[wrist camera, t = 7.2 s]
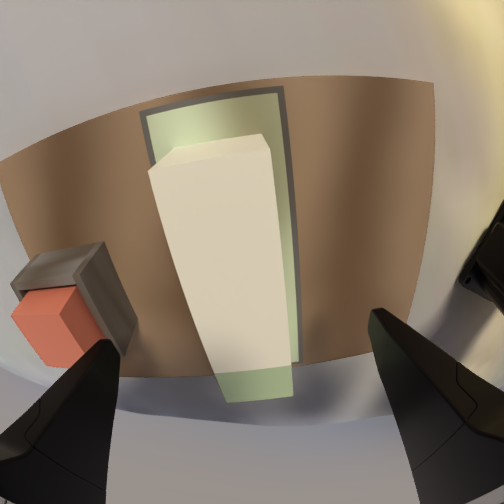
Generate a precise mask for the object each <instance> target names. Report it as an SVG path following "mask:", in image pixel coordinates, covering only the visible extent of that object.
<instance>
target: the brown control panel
mask: <svg viewBox="0 0 504 504" xmlns="http://www.w3.org/2000/svg"><path fill="white" fill-rule="evenodd" d="M255 134H262V135H263V137H264V139H265V141H266V143H267V144H268V146H269V148H270V152H271V160H272V168H273V176H274V185H275V193H276V202H277V211H278V220H279V230H280V239H281V249H282V259H283V270H284V280H285V291H286V303H287V315H288V327H289V340H290V353H291V367H295V366H302V365H308V364H314V363H320V362H326V361H331V360H336V359H341V358H346V357H351V356H356V355H360V354H365V353H369V352H373V349H372V345H371V342H370V338H369V334H368V322H369V316H370V312H371V310H372V309H375V308H380V307H382V308H385V309H386V310H388V311H389V312H390V313H392V314H393V315H395V316H396V317H397V318H399V319H400V320H402V321H403V322H404V323H407V319H408V316H409V312H410V308H411V305H412V301H413V297H414V293H415V289H416V284H417V280H418V276H419V271H420V266H421V261H422V256H423V251H424V245H425V240H426V233H427V227H428V220H429V213H430V204H431V195H432V185H433V172H434V154H435V100H434V83H430V82H423V81H415V80H407V79H397V78H385V77H370V76H301V77H285V78H273V79H263V80H254V81H246V82H238V83H231V84H225V85H219V86H213V87H207V88H202V89H197V90H192V91H187V92H183V93H178V94H174V95H170V96H166V97H162V98H158V99H154V100H150V101H147V102H143V103H140V104H136V105H133V106H129V107H126V108H123V109H120V110H117V111H114V112H111V113H108V114H105V115H102V116H99V117H97V118H94V119H91V120H88V121H86V122H83V123H81V124H78V125H76V126H73V127H71V128H68V129H66V130H64V131H61V132H59V133H57V134H54V135H52V136H50V137H48V138H46V139H43V140H41V141H39V142H37V143H35V144H33V145H31V146H29V147H27V148H25V149H23V150H21V151H19V152H17V153H16V154H14V155H12V156H10V157H8V158H6V159H5V160H3V161H1V162H0V184H1V187H2V191H3V194H4V197H5V200H6V203H7V205H8V208H9V211H10V214H11V216H12V219H13V222H14V224H15V227H16V229H17V232H18V234H19V237H20V239H21V241H22V244H23V246H24V248H25V250H26V253H27V255H28V257H29V259H30V262H29V263H28V264H27V265H26V266H25V267H24V268H23V269H22V271H21V272H20V273H19V274H18V275H17V276H16V277H15V279H14V280H13V281H12V282H11V283H10V285H11V287H12V289H13V291H14V292H15V294H16V296H17V298H18V299H19V301H20V302H21V301H22V299H23V298H24V297H25V295H26V294H27V293H28V291H29V290H30V289H37V288H46V287H55V286H64V285H73V284H76V285H77V287H78V289H79V291H80V293H81V295H82V297H83V299H84V301H85V302H86V304H87V306H88V308H89V310H90V312H91V313H92V315H93V317H94V319H95V320H96V322H97V324H98V326H99V327H100V329H101V331H102V332H103V334H104V336H105V337H106V339H110V340H111V341H112V342H113V344H114V345H115V347H116V349H117V350H118V352H119V354H120V358H121V361H120V372H119V377H190V376H210V375H215V374H214V372H213V369H212V367H211V364H210V362H209V359H208V357H207V354H206V352H205V349H204V347H203V344H202V341H201V339H200V336H199V333H198V331H197V328H196V325H195V323H194V320H193V317H192V314H191V312H190V309H189V306H188V303H187V300H186V298H185V295H184V292H183V289H182V286H181V283H180V280H179V277H178V274H177V271H176V268H175V265H174V262H173V258H172V255H171V252H170V249H169V246H168V242H167V239H166V236H165V232H164V229H163V226H162V222H161V219H160V215H159V212H158V208H157V204H156V201H155V197H154V193H153V190H152V186H151V182H150V178H149V174H148V170H150V169H151V168H152V167H153V166H154V165H155V164H156V163H157V162H159V161H160V160H161V159H162V158H163V157H164V156H165V155H167V154H168V153H169V152H170V151H171V150H173V149H174V148H179V147H184V146H189V145H194V144H199V143H204V142H210V141H216V140H221V139H227V138H234V137H240V136H247V135H255Z"/></svg>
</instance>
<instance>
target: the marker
mask: <svg viewBox="0 0 504 504" xmlns="http://www.w3.org/2000/svg"><path fill="white" fill-rule="evenodd" d="M148 174H149V178H150V182H151V186H152V190H153V193H154V197H155V201H156V204H157V208H158V212H159V215H160V219H161V222H162V226H163V229H164V232H165V236H166V239H167V242H168V246H169V249H170V252H171V255H172V258H173V262H174V265H175V268H176V271H177V274H178V277H179V280H180V283H181V286H182V289H183V292H184V295H185V298H186V300H187V303H188V306H189V309H190V312H191V314H192V317H193V320H194V323H195V325H196V328H197V331H198V333H199V336H200V339H201V341H202V344H203V347H204V349H205V352H206V354H207V357H208V359H209V362H210V364H211V367H212V369H213V372H214V374H215V376H216V379H217V381H218V384H219V386H220V388H221V391H222V393H223V395H224V398H225V400H226V402H227V403H233V402H246V401H257V400H266V399H274V398H282V397H289V396H293V383H292V368H291V353H290V340H289V327H288V315H287V303H286V291H285V280H284V270H283V259H282V249H281V239H280V230H279V220H278V211H277V202H276V193H275V185H274V176H273V168H272V160H271V152H270V148H269V146H268V144H267V143H266V141H265V139H264V137H263V135H262V134H255V135H247V136H240V137H234V138H227V139H221V140H216V141H210V142H204V143H199V144H194V145H189V146H184V147H179V148H174V149H173V150H171V151H170V152H169V153H168V154H167V155H165V156H164V157H163V158H162V159H161V160H160V161H159V162H157V163H156V164H155V165H154V166H153V167H152V168H151V169H150V170H148Z"/></svg>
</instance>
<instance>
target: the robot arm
mask: <svg viewBox="0 0 504 504" xmlns="http://www.w3.org/2000/svg"><path fill="white" fill-rule="evenodd" d="M459 282H460V283H461V284H462V286H463V287H465V288H467V289H469V290H470V291H472V292H474V293H476V294H478V295H480V296H482V297H484V298H486V299H487V300H489V301H491V302H493V303H494V304H495V305H496V306H497V308H498V309H499V310H500V311H501V313H502V314H503V315H504V204H503V206H502V208H501V210H500V212H499V214H498V215H497V217H496V219H495V221H494V223H493V225H492V226H491V228H490V230H489V232H488V233H487V235H486V237H485V239H484V240H483V242H482V244H481V245H480V247H479V248H478V250H477V252H476V253H475V255H474V256H473V258H472V259H471V261H470V263H469V264H468V266H467V267H466V269H465V270H464V272H463V273H462V274H461V276H460V279H459ZM368 334H369V338H370V342H371V345H372V349H373V353H374V357H375V361H376V365H377V369H378V372H379V375H380V378H381V380H382V383H383V386H384V388H385V391H386V394H387V397H388V399H389V402H390V405H391V408H392V411H393V414H394V417H395V419H396V422H397V425H398V428H399V432H400V435H401V438H402V441H403V444H404V447H405V450H406V454H407V457H408V460H409V464H410V467H411V470H412V474H413V478H414V482H415V485H416V489H417V493H418V497H419V501H420V504H504V392H503V391H502V390H500V389H498V388H497V387H495V386H493V385H492V384H490V383H488V382H487V381H485V380H484V379H482V378H480V377H479V376H477V375H476V374H474V373H473V372H472V371H470V370H469V369H467V368H466V367H465V366H463V365H462V364H461V363H459V362H456V360H455V359H454V358H452V357H451V356H450V355H448V354H447V353H446V352H444V351H443V350H442V349H440V348H439V347H438V346H436V345H435V344H433V343H432V342H431V341H429V340H428V339H427V338H425V337H424V336H422V335H421V334H420V333H418V332H417V331H416V330H414V329H413V328H411V327H410V326H409V325H407V324H406V323H404V322H403V321H402V320H400V319H399V318H397V317H396V316H395V315H393V314H392V313H390V312H389V311H388V310H386V309H385V308H382V307H380V308H375V309H372V310H371V312H370V316H369V322H368ZM120 361H121V358H120V354H119V352H118V350H117V349H116V347H115V345H114V344H113V342H112V341H111V340H110V339H100V340H98V341H97V342H96V343H95V344H94V345H93V346H92V347H91V348H90V349H89V350H88V351H87V352H86V353H85V354H84V355H83V356H81V357H80V358H79V359H78V360H77V361H76V362H75V363H74V364H73V365H72V366H71V367H70V368H69V369H68V370H67V371H66V372H65V373H64V374H63V375H62V376H61V377H60V378H59V379H58V380H57V381H56V382H55V383H54V384H53V385H52V386H51V387H50V388H49V389H48V390H47V391H46V392H45V393H44V394H43V395H42V396H41V398H39V399H38V400H37V401H36V403H34V404H33V406H31V407H30V408H29V409H28V411H26V412H25V413H24V414H23V415H22V416H21V417H20V418H19V419H18V420H16V421H15V422H14V423H13V424H12V425H11V426H9V427H8V428H7V429H6V430H5V431H4V432H3V433H2V434H0V504H106V491H105V490H106V485H107V471H108V461H109V452H110V444H111V436H112V428H113V421H114V415H115V409H116V402H117V396H118V385H119V372H120Z"/></svg>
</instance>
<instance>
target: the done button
mask: <svg viewBox="0 0 504 504" xmlns="http://www.w3.org/2000/svg"><path fill="white" fill-rule="evenodd" d="M11 317H12V318H13V320H14V321H15V323H16V325H17V326H18V328H19V329H20V330H21V332H22V333H23V335H24V336H25V338H26V339H27V340H28V342H29V343H30V345H31V346H32V347H33V349H34V350H35V351H36V353H37V354H38V355H39V357H40V358H41V359H42V360H43V362H44V363H45V364H46V365H47V366H51V367H61V368H70V367H71V366H72V365H73V364H74V363H75V362H76V361H77V360H78V359H79V358H80V357H81V356H83V355H84V354H85V353H86V352H87V351H88V350H89V349H90V348H91V347H92V346H93V345H94V344H95V343H96V342H97V341H98V340H100V339H106V337H105V336H104V334H103V332H102V331H101V329H100V327H99V326H98V324H97V322H96V320H95V319H94V317H93V315H92V313H91V312H90V310H89V308H88V306H87V304H86V302H85V301H84V299H83V297H82V295H81V293H80V291H79V289H78V287H77V285H76V284H73V285H64V286H55V287H46V288H37V289H30V290H29V291H28V293H27V294H26V295H25V297H24V298H23V299H22V301H21V302H20V303H19V305H18V306H17V307H16V309H15V310H14V312H13V313H12V314H11Z"/></svg>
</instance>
